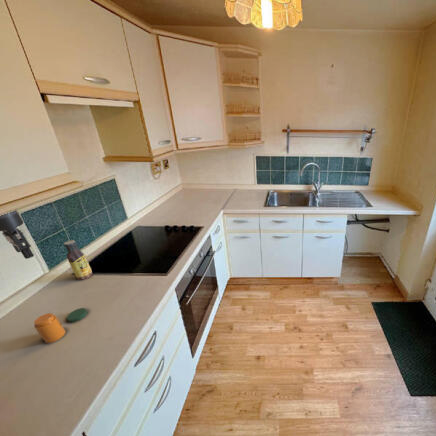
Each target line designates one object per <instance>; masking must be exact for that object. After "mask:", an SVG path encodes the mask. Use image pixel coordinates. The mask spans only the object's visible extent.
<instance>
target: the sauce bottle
mask: <svg viewBox="0 0 436 436" xmlns="http://www.w3.org/2000/svg"><path fill="white" fill-rule="evenodd" d="M63 245H64V247H65V248H66V251H67V254H66V258H67V261H68V263H69V265H70V267H71V269H72V272H73V273H74V276H75V277H76V279H77V280H78V281H79V280H86V279H88V278H90V277H91V276H92V275H93V270H92V267H91V266H90V263H89V261H88V259H87V257H86V254H85V253H84V252H83V251H81V249H79V247H78V245H77V242H76V240H74V239H72V240H67V241H65V242H64V243H63Z"/></svg>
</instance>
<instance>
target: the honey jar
mask: <svg viewBox="0 0 436 436" xmlns="http://www.w3.org/2000/svg"><path fill="white" fill-rule="evenodd" d="M33 323H34V325H33V326H34V329H35V330H36V332H37V333H38V334H39V336H40V337H41V338H42V340H43V341H44V343H46V344H51V343H54V342H56V341H59V340H60V339H61V338H63V337H64V335H65V334H66V330H65V328H64V326H63V324H61V322H60V320H59V319H58V317H57V316H56V315H55V314H53V313H48V312H47V313H44V314H42V315H40V316H38V317H37V318H36V319H35V320H34V322H33Z"/></svg>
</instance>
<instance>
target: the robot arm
mask: <svg viewBox="0 0 436 436" xmlns="http://www.w3.org/2000/svg"><path fill="white" fill-rule="evenodd" d="M22 225H24V220H23V218H22V217H21V214H20V213H19V211H18V210H17V209H16V210H15V211H13V212H10V213H7V214H4V215H1V216H0V232H2V233H1V234H2V236H3V237H4V238H5V240H6V241H7V242H8V243H9V244H11V246H12V247H13V248H14V250H15V251H16V253H21V254H22V256H23V258H24V259H26V260H27V259H30V258H31V259H32V258H33V257H34V256H35V255H34V253H33V252H32V251H33V250H32V249H31V244H30V243H29V241H28V239H27V238H26V236H25V235H24V232H23V231H22V230H21V229H19V228H18V227H20V226H22Z"/></svg>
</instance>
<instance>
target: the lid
mask: <svg viewBox="0 0 436 436" xmlns="http://www.w3.org/2000/svg"><path fill="white" fill-rule="evenodd" d="M87 314H88V310H87V309H86V308H84V307H80V308H77V309H74V310H72V311H71V312H70V313H68V315H67V316H66V320H67V322H69V323H76V322H78V321H79V322H80V321H81V320H83V319H84V318H85V317H87Z"/></svg>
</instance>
